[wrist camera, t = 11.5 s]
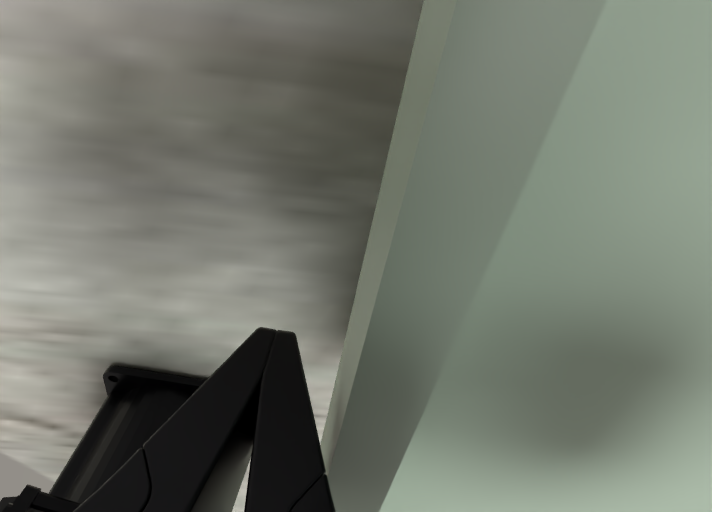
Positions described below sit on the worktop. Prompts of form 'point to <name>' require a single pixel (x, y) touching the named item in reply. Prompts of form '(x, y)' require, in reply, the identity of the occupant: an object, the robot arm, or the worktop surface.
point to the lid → (537, 269)
